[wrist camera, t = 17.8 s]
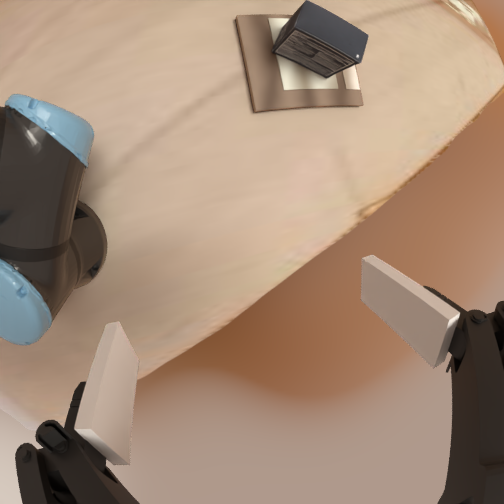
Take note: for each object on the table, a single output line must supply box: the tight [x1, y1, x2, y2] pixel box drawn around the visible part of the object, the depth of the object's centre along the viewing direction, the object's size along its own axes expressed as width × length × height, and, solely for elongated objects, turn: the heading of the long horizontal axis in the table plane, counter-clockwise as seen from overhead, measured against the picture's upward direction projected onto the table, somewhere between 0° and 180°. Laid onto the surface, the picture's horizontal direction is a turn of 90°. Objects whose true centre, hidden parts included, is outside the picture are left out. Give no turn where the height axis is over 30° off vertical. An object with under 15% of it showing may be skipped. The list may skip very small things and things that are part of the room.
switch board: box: [235, 15, 363, 112], centre depth 36 cm, size 20×18×2 cm
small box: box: [271, 0, 369, 79], centre depth 30 cm, size 11×6×10 cm, turn 70°
